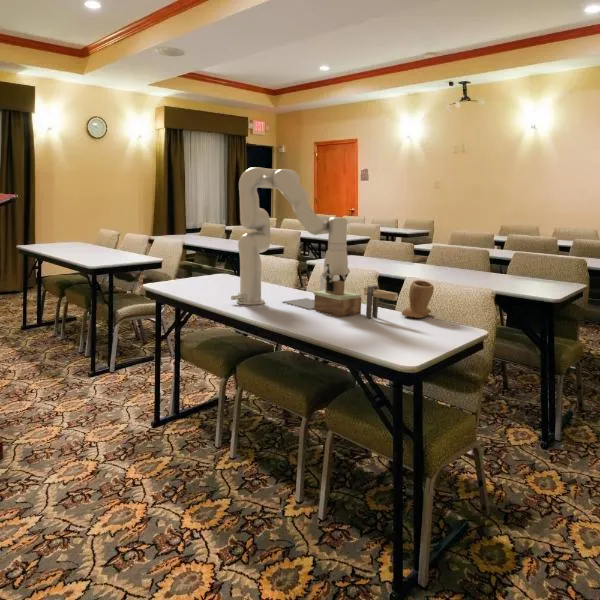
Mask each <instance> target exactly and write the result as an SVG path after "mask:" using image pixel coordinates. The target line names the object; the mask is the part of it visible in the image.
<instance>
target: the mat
mask: <svg viewBox="0 0 600 600" xmlns="http://www.w3.org/2000/svg"><path fill="white" fill-rule="evenodd" d="M310 299H311V300H310ZM282 302H283V304H285V303H287V304H286V305H289V304H291V305H290V306H293V305H295V306H294V307H297V306H298V307H297V308H300V307H302V308H301V309H304V308H306V309H305V310H308V309H312V310H314V302H315V299H312V298H307V297H306V298H297V299H291V300H285V301H282Z"/></svg>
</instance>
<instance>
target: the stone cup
mask: <svg viewBox="0 0 600 600" xmlns="http://www.w3.org/2000/svg"><path fill="white" fill-rule="evenodd" d="M434 290H435V286H434V285H433V283H431V282H429V281H426V280H420V279H419V280H413V282H411V283H410V286H409V290H408V291H409V292H408V299H409V307H408V308H406V309H404V310H402V311H401V315H402V316H405V317H408V318H413V317H414V318H415V319H421V318H424V317H426V316H427V315H430V313H432V310H431V309H430V308H428V306H429V303H430V301H431V299H432V297H433V294H434Z"/></svg>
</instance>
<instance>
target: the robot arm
mask: <svg viewBox="0 0 600 600" xmlns="http://www.w3.org/2000/svg"><path fill="white" fill-rule="evenodd" d="M299 175H300V174H298V172H296V171H295V170H293V169H289V168H280V169H276V168H268V167H267V168H265V167H260V166H258V167H256V166H254V167H249V168H248V169H246V170H244V172H242V173H241V175H240V177H239V181H238V191H239V192H238V193H239V220H240V225H241V226H242V228H243V229H246V230H251V232H247V233H244V234H242V235H241V236H240V237H239V240H238V243H237V247H238V249H237V250H238V252H239V292H238V293H237V294H236V295H230V301H236V303H237V304H239V305H246V306H256V305H262V304H265V299H264V298H262V259H261V255H260V253H265V252H266V251H268V249H269V248H270V246H271V218H270V215H269V213H268V211H267V210H265V208H261V207H260V197H259V196H260V195H259V193H258V188H261V189H276V190H278V191H279V192H280V194H282V196H283V197H284V198H285V200H287V202H288V203H289V204H290V206H291V207H292V211H293V213H294V215H295V217H296V219H297V221H298V222H299V223H300V225H302V226H303V228H304V230H305V231H307V233H309V234H311V235H314V236H317V235H318V236H319V235H326V234H328V236H327V237H328V239H327V240H328V241H327V250H326V252H325V256H324V264H323V271H322V272H321V273H322V275H323V276H324V278H325V279H326V281H327V291H331V292H332V291H333V282H332V280H333V277H334V275H339V279H340V280H339V281H344V285H345V281H346V280H347V278H348V275H349V274H350V273H351V270H350V269H349V265H348V264H349V260H348V252H347V251H348V250H347V247H348V245H347V238H348V237H347V236H348V234H347V233H348V219H347V218H346V217H343V216H334V217H332V216H326V215H317V213H315V211H314V210H313V209H312V207H311V206H310V205H309V202H308V198H309V194H308V192H307V191H306V189H305V188H304V187H303V186H302V185H301V178H300V176H299ZM330 276H331V277H330Z"/></svg>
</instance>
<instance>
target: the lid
mask: <svg viewBox="0 0 600 600" xmlns="http://www.w3.org/2000/svg"><path fill="white" fill-rule="evenodd" d="M332 282H333V291H332V292H331V291H327V281H326V290H323V291H320V290H317V291H313V295H314V296H315V295H318V296H323V297H327V298H332V299H336V300H347V299H353V298H360V297H361V298H362V295H361V294H359V293H354V292H350V291H346V290H345V284H344V281H339V280H332Z"/></svg>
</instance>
